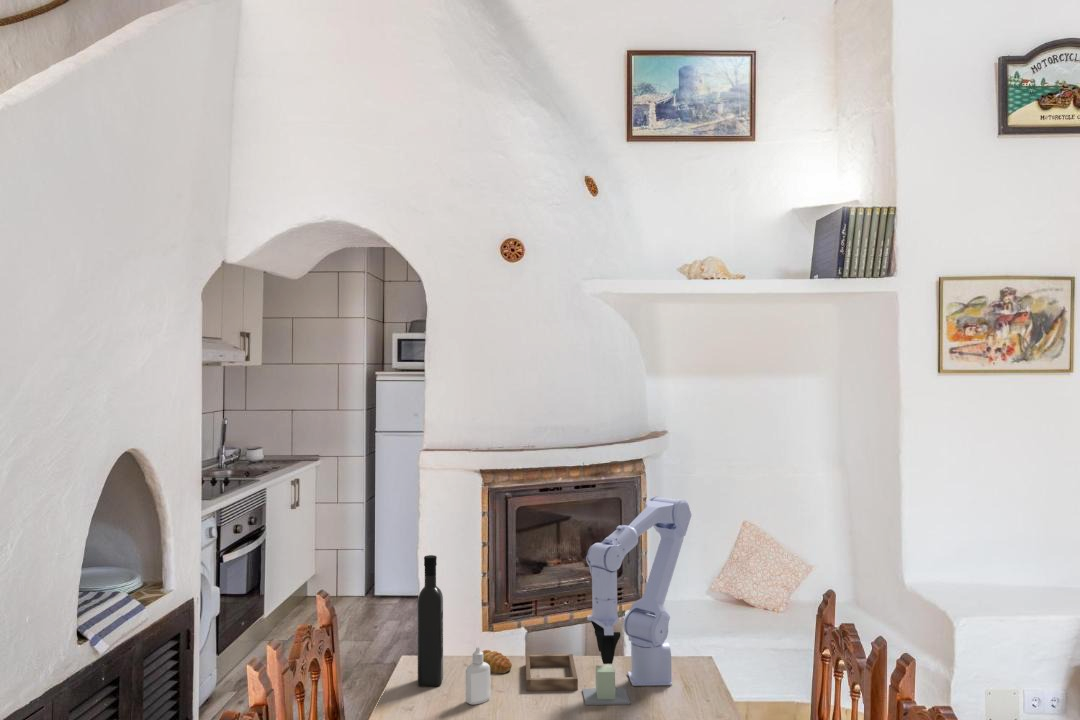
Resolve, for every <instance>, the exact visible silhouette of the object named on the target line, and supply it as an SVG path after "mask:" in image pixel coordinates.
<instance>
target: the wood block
mask: <svg viewBox="0 0 1080 720" xmlns="http://www.w3.org/2000/svg"><path fill="white" fill-rule="evenodd" d="M595 688H596V694H597V699H615V688H616V670H615V666H614V665H613V664H601V665H600V664H599V665H595Z"/></svg>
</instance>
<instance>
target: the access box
mask: <svg viewBox="0 0 1080 720" xmlns="http://www.w3.org/2000/svg"><path fill="white" fill-rule="evenodd" d="M574 659H575V658H574V655H573V653H572V654H571V653H563V654H561V653H560V654H525V682H526V683H525V685H526V686H525V687H526V692H527V691H531V692H532V691H534V692H535V691H572V690H573V691H574V690H575V691H576V690H579V678H578V674H577V669H576V664H575V660H574ZM559 666H560V667H563V666H566V667H569V673H570V677H569V676H568V677H563V676H562V677H561V676H560V677H559V676H558V677H531V667H559Z"/></svg>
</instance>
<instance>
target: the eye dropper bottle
mask: <svg viewBox="0 0 1080 720" xmlns="http://www.w3.org/2000/svg"><path fill="white" fill-rule="evenodd" d="M480 647H481V646H476V647H475V651H474V652H472V663H471V664H469V665H468V666H467V667H466V668H465V702H466V703H467V704H469V705H471V706H472V705H474V706H475V705H480V704H484V703H486V702H488V701H489V700H490V699H491V672H490V666H489V664H487V663H486V662H483V652H482V650H481V649H480Z"/></svg>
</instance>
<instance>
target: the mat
mask: <svg viewBox="0 0 1080 720" xmlns="http://www.w3.org/2000/svg"><path fill="white" fill-rule="evenodd" d="M581 691H582V695H583V699H584V705H585V706H605V705H607V706H610V705H612V706H613V705H615V706H616V705H617V706H618V705H631V701H630V699H629V698H630V697H629V694H628V693H627V690H626V687H615V699H597V694H596V687H594V688H582V689H581Z"/></svg>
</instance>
